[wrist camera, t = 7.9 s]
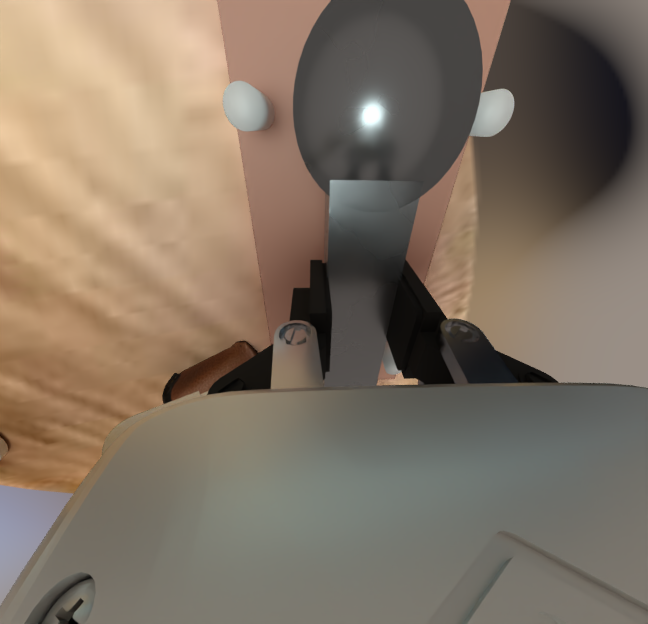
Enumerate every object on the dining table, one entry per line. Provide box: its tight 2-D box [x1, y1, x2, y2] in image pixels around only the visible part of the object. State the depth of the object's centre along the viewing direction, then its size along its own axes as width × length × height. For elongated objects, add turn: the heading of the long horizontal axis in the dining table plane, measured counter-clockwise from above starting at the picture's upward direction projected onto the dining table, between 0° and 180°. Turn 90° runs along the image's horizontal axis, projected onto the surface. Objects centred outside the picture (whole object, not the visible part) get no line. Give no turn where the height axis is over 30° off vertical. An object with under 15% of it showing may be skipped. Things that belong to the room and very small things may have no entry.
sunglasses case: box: [162, 341, 258, 404], centre depth 24 cm, size 18×7×7 cm, turn 33°
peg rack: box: [217, 0, 514, 379], centre depth 13 cm, size 22×10×4 cm, turn 179°
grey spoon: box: [293, 0, 483, 387], centre depth 11 cm, size 18×5×3 cm, turn 179°
